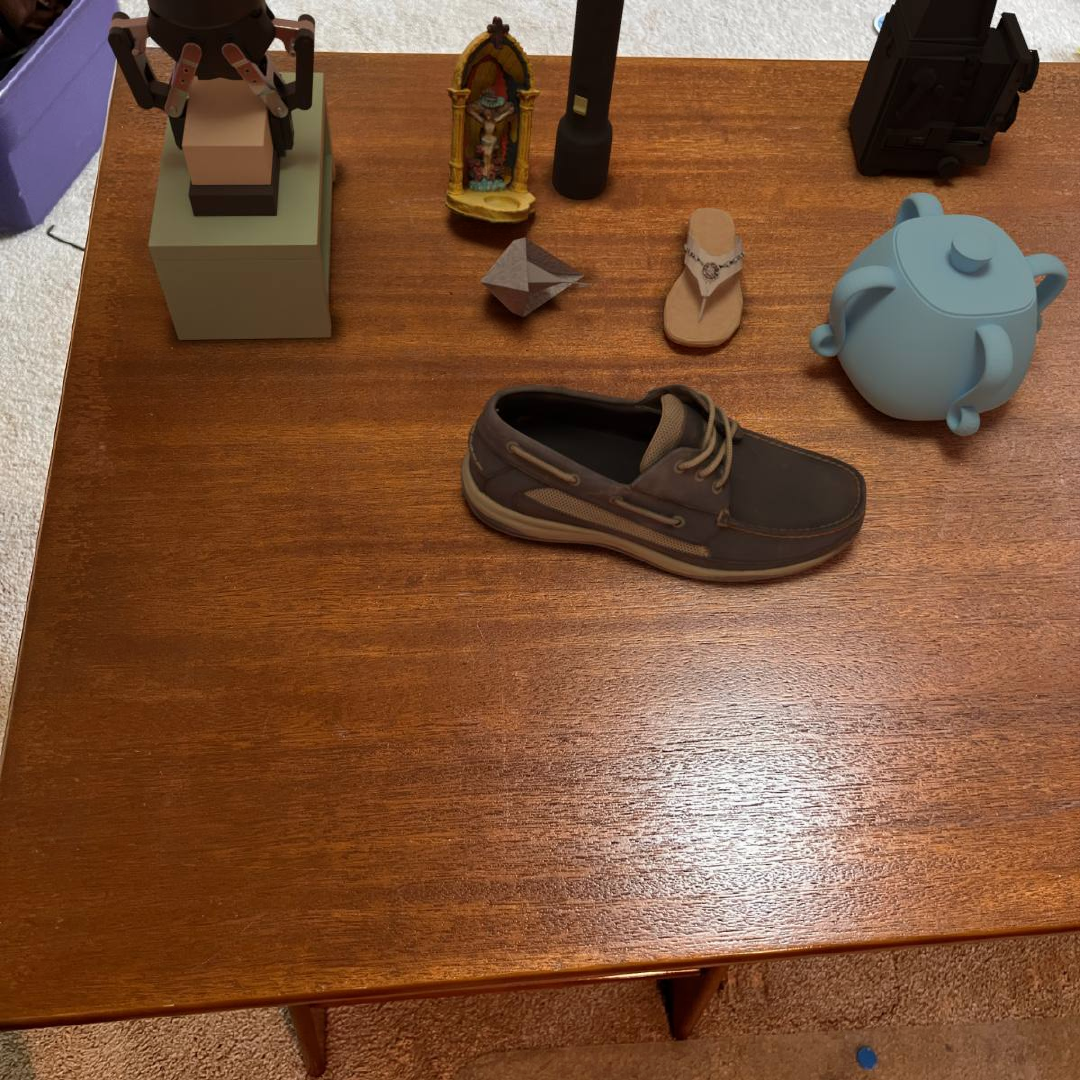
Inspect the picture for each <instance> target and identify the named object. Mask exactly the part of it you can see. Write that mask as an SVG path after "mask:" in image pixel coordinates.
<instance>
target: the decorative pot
mask: <svg viewBox="0 0 1080 1080" xmlns="http://www.w3.org/2000/svg"><path fill="white" fill-rule="evenodd" d="M1043 276H1045V277H1044V278H1043V279H1042V280H1041V281H1040V282H1039V283H1038V284H1037V285H1036V282H1035V278H1038V277H1043ZM1068 281H1069V272H1068V269H1067V267H1066V266H1065V263H1064V262H1063V261H1062V260H1061V259H1060V258H1059V257H1057V256H1055V255H1054V254H1051V253H1035V254H1031V255H1027V256H1025V254H1024V253H1023V252H1022V251H1021V249H1020V248H1019V247H1018V245H1017V244H1016V242H1015V241H1014V240H1013V239H1012V238H1011V236H1009V234H1008V233H1007V232H1006V231H1005V230H1004V229H1002V228H1001V227H1000V226H999V225H997V224H996V223H995V222H993V221H992V220H989V219H987V218H984V217H982V216H977V215H971V214H945V213H944V208H943V206H942V203H941V201H940V200H939V199H938V198H937V197H936V196H935V195H933V194H931V193H927V192H913V193H911V194H908V195H907V196H905V197H904V199H902V201H901V203H900V205H899V208H898V210H897V213H896V216H895V219H894V223H893V227H892V228H890V229H889V230H888V231H886V232H885V233H883V234H882V235H880V236H879V237H878V238H876V239H875V240H874V241H873V242H871V243H870V244H868V246H867V247H865V248H864V249H863V250H861V252H860V253H859V254H858V255H857V256H856V257H855V258H854V259H853V260H852V262H851V263H850V264H849V265H848V267H847V268H846V269H845V271H844V272H843V274H842V275H841V277H840V278H839V279H838V281H837V283H836V284H835V286H834V287H833V290H832V292H831V296H830V302H829V312H828V323H823V324H820V325H818V326H816V327H814V328H813V330H812V331H811V332H810V334H809V339H808V342H809V348H810V349H811V351H812V352H813V353H815V354H816V355H818V356H820V357H824V358H831V357H832V358H833V357H835V356H837V359H838V361H839V363H840V365H841V368H842V369H843V370H844V372H845V374H846V376H847V377H848V379H849V381H850V382H851V383H852V385H853V386H854V388H855V389H856V391H857V392H858V393H859V394H860V395H861V396H862V398H863V399H865V401H866V402H867V403H868V404H869V405H871V406H872V407H873V408H874V409H876V410H877V411H879V412H881V413H883V414H884V415H887V416H888V417H890V418H891V417H892V418H894V419H899V420H904V421H915V422H916V421H917V422H918V421H920V422H921V421H923V422H925V421H944V420H946V425H947V427H948V428H949V430H950V431H951V432H952V433H953V434H954V435H957V436H960V437H969V436H971V435H973V434H975V433H976V432H978V430H979V428H980V425H981V417H980V414H981V413H984V412H988V411H992V410H994V409H997V408H999V407H1001V406H1002V405H1004V404H1006V403H1008V402H1009V401H1010V399H1013V397H1014V396H1015V395H1016V393H1017V392H1018V390H1019V388H1020V387H1021V385H1022V384H1023V383H1024V380H1025V379H1026V376H1027V373H1028V371H1029V369H1030V366H1031V363H1032V359H1033V356H1034V352H1035V347H1036V342H1037V334H1039V332H1040V331H1041V329H1042V326H1043V317H1042V313H1043V312H1044V311H1045V310H1046V309H1047V308H1048V307H1049V306H1050V305H1051V304H1052V303H1053V302H1054V301H1055V300H1056V299H1057V298H1058V297H1059V296H1060V295H1061V293H1062V292H1063V291H1064V290H1065V288H1066V286H1067V284H1068Z"/></svg>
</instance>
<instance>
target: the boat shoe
mask: <svg viewBox="0 0 1080 1080" xmlns="http://www.w3.org/2000/svg"><path fill="white" fill-rule="evenodd" d="M467 448H468V449H467V450H466V452H465V454H464V455H463V458H462V463H461V468H460V469H461V470H460V481H461V482H460V484H461V489H462V493H463V495H464V497H465V500H466V502H467V504H468V506H469V507H470V509H471V511H472V513H474V515H475V516H476V517H477V518H478V519H479V520H481V521H482V522H483V523H485V524H486V525H487V526H489V527H491V528H492V529H494V530H496V531H498V532H502V533H504V534H506V535H509V536H512V537H516V538H520V539H525V540H532V541H536V542H537V541H538V542H544V543H545V542H546V543H564V544H565V543H566V544H584V545H591V546H597V547H601V548H605V549H610V550H613V551H615V552H619V553H622V554H624V555H627V556H629V557H631V558H633V559H635V560H638V561H640V562H644V563H647V564H649V565H651V566H653V567H655V568H658V569H660V570H662V571H665V572H669V573H672V574H675V575H679V576H683V577H686V578H692V579H695V580H701V581H712V582H713V581H714V582H722V583H723V582H725V583H726V582H732V583H733V582H734V583H735V582H749V581H755V580H756V581H757V580H758V581H759V580H760V581H761V580H767V579H775V578H779V577H780V578H781V577H784V576H785V577H786V576H789V575H794V574H797V573H800V572H803V571H807V570H808V569H811V568H815V567H817V566H818V565H819V566H820V565H821V564H823V563H825V562H827V561H829V560H830V559H832V558H833V557H835V556H836V555H837V554H839V553H841V552H842V551H844V550H845V549H846V548H847V547H848V546H849V545H851V543H853V541H854V540H856V538H857V537H858V535H859V533H860V531H861V529H862V526H863V524H864V520H865V517H866V512H867V511H866V510H867V493H868V491H867V483H866V479H865V476H864V475H863V473H862V474H861V472H860V471H859V470H858V469H857V468H856V467H854V465H851V464H849V463H848V462H846V461H843V460H841V459H838V458H836V457H833V456H829V455H827V454H823V453H820V452H817V451H814V450H810V449H807V448H804V447H801V446H797V445H795V444H791V443H788V442H786V441H783V440H780V439H777V438H774V437H771V436H768V435H766V434H762V433H759V432H757V431H754V430H751V429H748V428H745V427H742V426H741V425H740V423H739V422H738V421H737V420H734V419H733V418H731V417H729V416H728V415H727V413H726V410H724V408H723V407H721V406H719V405H715V403H714V401H713V399H712V398H711V397H710V395H708V394H707V393H706V392H703V391H696V390H694V389H693V388H691V387H689V386H687V385H684V384H679V383H676V384H675V383H673V384H668V385H665V386H664V385H663V386H660V387H656V388H652V389H650V390H648V391H647V394H645V395H644V396H643V397H641V398H630V397H629V398H628V397H619V396H613V395H607V394H603V393H602V394H601V393H597V392H592V391H584V390H578V389H573V388H569V387H566V386H563V385H555V386H554V385H538V384H537V385H536V384H522V385H513V386H507V387H504V388H501V389H499V390H497V391H496V392H495V393H493V394H492V395H491V396H490V397H489V399H488V400H487V402H486V403H485V405H484V407H483V409H482V412H481V413H480V414H479V416H478V417H477V419H476V420H475V421H474V423H473V424H472V426H471V427H470V430H469V431H468V436H467Z"/></svg>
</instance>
